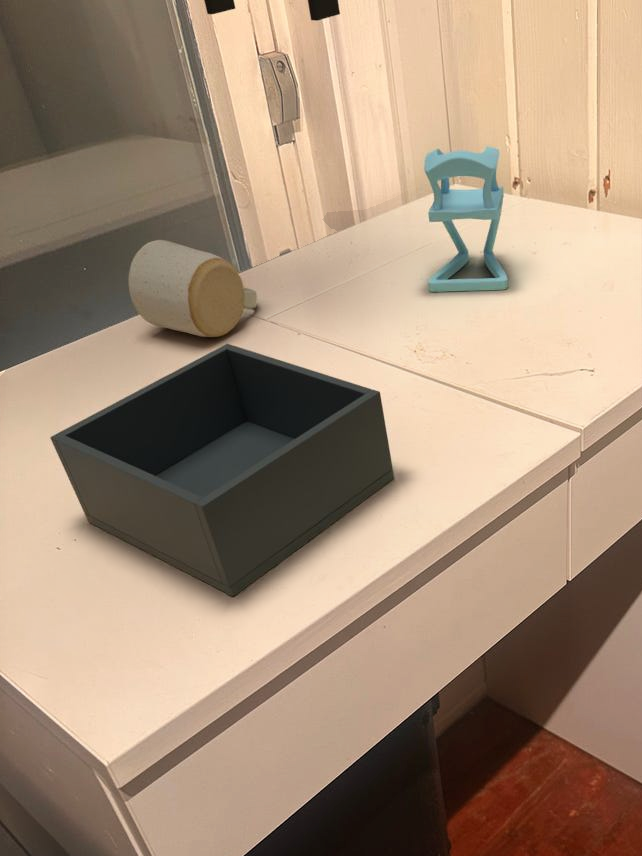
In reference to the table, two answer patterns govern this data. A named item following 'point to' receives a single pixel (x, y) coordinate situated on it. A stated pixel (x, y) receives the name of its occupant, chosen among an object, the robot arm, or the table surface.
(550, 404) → the table surface
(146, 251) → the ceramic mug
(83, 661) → the table surface
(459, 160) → the chair
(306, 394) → the tub
